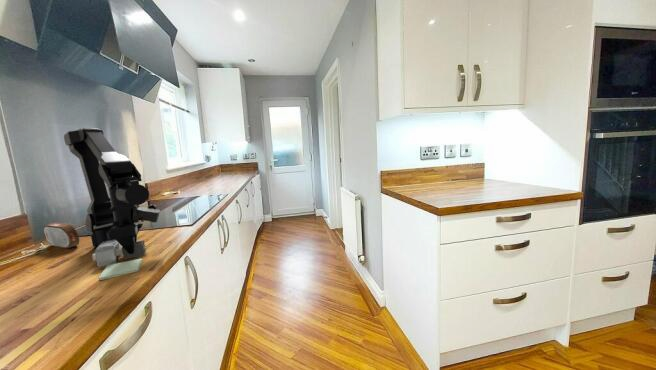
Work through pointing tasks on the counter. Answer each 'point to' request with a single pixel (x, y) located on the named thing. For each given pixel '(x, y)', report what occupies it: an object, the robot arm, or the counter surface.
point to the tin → (61, 235)
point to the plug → (138, 251)
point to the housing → (107, 253)
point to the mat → (120, 269)
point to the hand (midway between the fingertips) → (132, 251)
